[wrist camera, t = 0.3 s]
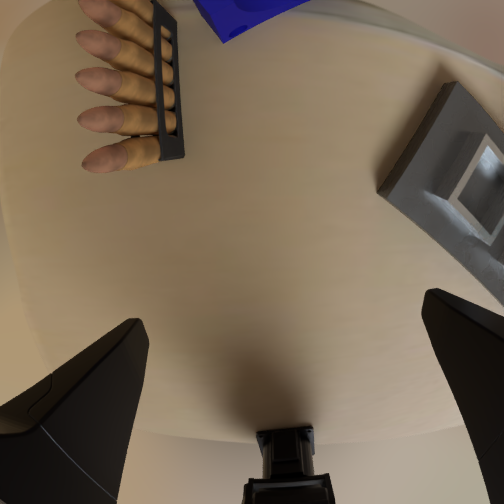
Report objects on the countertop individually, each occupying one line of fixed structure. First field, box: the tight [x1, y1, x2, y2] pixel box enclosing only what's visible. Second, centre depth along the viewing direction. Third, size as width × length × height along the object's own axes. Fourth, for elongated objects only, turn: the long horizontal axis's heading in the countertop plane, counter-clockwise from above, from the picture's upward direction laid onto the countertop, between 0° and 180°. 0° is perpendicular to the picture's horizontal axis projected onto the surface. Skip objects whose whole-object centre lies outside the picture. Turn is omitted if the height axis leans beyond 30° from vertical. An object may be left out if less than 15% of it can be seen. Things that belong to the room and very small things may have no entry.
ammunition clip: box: [75, 0, 185, 173], centre depth 14 cm, size 11×2×12 cm, turn 4°
